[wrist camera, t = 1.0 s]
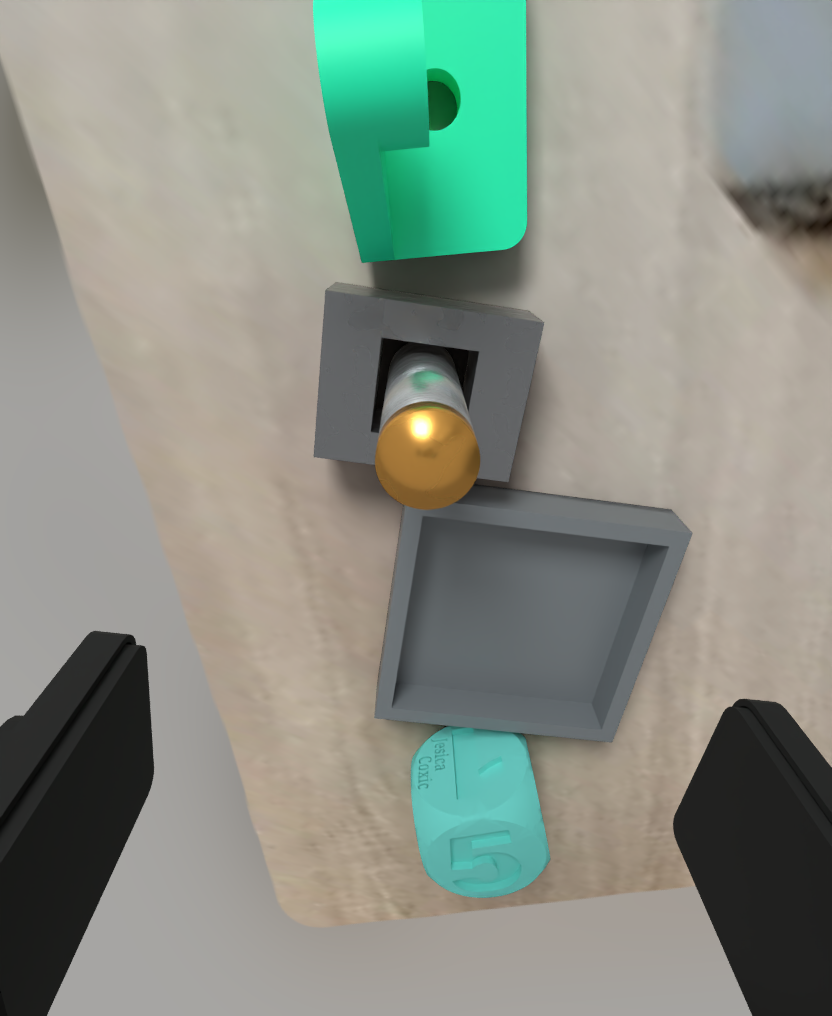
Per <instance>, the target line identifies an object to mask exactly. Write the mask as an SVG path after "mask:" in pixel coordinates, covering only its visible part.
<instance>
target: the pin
mask: <svg viewBox="0 0 832 1016" xmlns="http://www.w3.org/2000/svg"><path fill="white" fill-rule="evenodd" d="M375 468H376V473H377V476H378V479H379V481H380V483H381V485H382V486H383V488H384V489H385V490H386V492H387V493H388V494H389V495H390V496H391V497H393V498H394V499H395V500H397V501H398V502H400V503H401V504H404V505H406V506H408V507H412V508H416V509H422V510H432V509H439V508H443V507H446V506H448V505H451V504H453V503H455V502H456V501H458V500H459V499H461V498H462V497H463V496H464V495H465V494H466V493H467V492H468V491H469V490H470V489H471V487H472V486H473V484H474V483H475V481H476V478H477V476H478V473H479V469H480V451H479V447H478V444H477V440H476V437H475V433H474V430H473V426H472V423H471V420H470V416H469V413H468V409H467V406H466V402H465V399H464V396H463V392H462V389H461V385H460V382H459V378H458V375H457V372H456V368H455V365H454V361H453V359H452V357H451V355H450V354H449V353H448V351H447V350H446V349H445V348H444V347H442V346H437V345H430V344H423V343H416V342H409V343H407V344H405V345H404V346H402V347H401V348H400V349H399V350H398V351H397V352H396V354H395V355H394V357H393V359H392V361H391V364H390V368H389V374H388V380H387V386H386V392H385V398H384V405H383V411H382V417H381V423H380V429H379V435H378V441H377V448H376V454H375Z"/></svg>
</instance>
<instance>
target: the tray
mask: <svg viewBox="0 0 832 1016" xmlns="http://www.w3.org/2000/svg"><path fill="white" fill-rule="evenodd" d="M691 536H692V532H691V531H690V530H689V529H688V527H687V526H686V525H685V524H684V523H683V522H682V521H681V520H680V519H679V517H678V516H677V515H676V514H675V513H674V512H673V511H672V510H670V509H663V508H655V507H647V506H639V505H631V504H624V503H616V502H608V501H600V500H593V499H585V498H577V497H569V496H561V495H554V494H546V493H538V492H530V491H523V490H515V489H507V488H499V487H491V486H484V485H476V484H473V486H472V487H471V489H470V490H469V491H468V492H467V493H466V494H465V495H464V496H463V497H462V498H461V499H459V500H458V501H456V502H455V503H453V504H451V505H448V506H446V507H443V508H439V509H432V510H422V509H416V508H412V507H408V506H406V505H404V504H403V510H402V517H401V524H400V531H399V537H398V544H397V551H396V558H395V565H394V572H393V579H392V586H391V592H390V599H389V606H388V613H387V620H386V627H385V634H384V641H383V647H382V654H381V661H380V668H379V675H378V682H377V691H376V704H375V717H374V718H378V719H388V720H398V721H407V722H417V723H427V724H437V725H447V726H456V727H466V728H476V729H486V730H496V731H506V732H515V733H525V734H535V735H545V736H555V737H564V738H574V739H584V740H594V741H604V742H612V741H613V739H614V736H615V733H616V731H617V728H618V726H619V723H620V720H621V718H622V715H623V713H624V710H625V707H626V705H627V702H628V700H629V697H630V694H631V692H632V689H633V687H634V684H635V681H636V679H637V676H638V674H639V671H640V668H641V666H642V663H643V661H644V658H645V655H646V653H647V650H648V648H649V645H650V642H651V640H652V637H653V635H654V632H655V629H656V627H657V624H658V622H659V619H660V616H661V614H662V611H663V609H664V606H665V603H666V601H667V598H668V596H669V593H670V590H671V588H672V585H673V583H674V580H675V577H676V575H677V572H678V570H679V567H680V564H681V562H682V559H683V557H684V554H685V551H686V549H687V546H688V544H689V541H690V538H691Z"/></svg>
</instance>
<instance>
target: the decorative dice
mask: <svg viewBox="0 0 832 1016" xmlns="http://www.w3.org/2000/svg"><path fill="white" fill-rule="evenodd" d="M411 794H412V806H413V815H414V822H415V829H416V835H417V841H418V846H419V851H420V855H421V859H422V862H423V866H424V868H425V871H426V873H427V875H428V876H429V877H430V878H432V879H433V880H434V881H435V882H436V883H437V884H439V885H440V886H441V887H443V888H445V889H446V890H448V891H451V892H453V893H456V894H459V895H463V896H468V897H477V898H488V897H497V896H502V895H506V894H510V893H513V892H515V891H518V890H520V889H522V888H524V887H526V886H527V885H529V884H530V883H531V882H533V881H534V880H535V879H536V878H537V877H538V876H539V874H540V873H541V872H542V871H543V870H544V868H545V867H546V865H547V864H548V862H549V861H550V854H549V848H548V843H547V838H546V833H545V828H544V823H543V818H542V813H541V808H540V803H539V799H538V794H537V789H536V784H535V780H534V775H533V770H532V766H531V761H530V756H529V752H528V747H527V743H526V739H525V737H524V736H523V735H521V734H520V733H515V732H506V731H496V730H486V729H476V728H466V727H456V726H447V727H445V728H443V729H441V730H440V731H438V732H436V733H435V734H433V735H432V736H431V737H430V738H428V739H427V740H426V741H425V742H424V743H423V745H422V746H421V747H420V748H419V749H418V750H417V752H416V753H415V755H414V756H413V758H412V764H411Z"/></svg>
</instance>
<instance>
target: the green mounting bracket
mask: <svg viewBox="0 0 832 1016" xmlns="http://www.w3.org/2000/svg"><path fill="white" fill-rule="evenodd" d="M313 16H314V31H315V42H316V51H317V60H318V68H319V75H320V82H321V89H322V95H323V102H324V107H325V113H326V118H327V124H328V128H329V133H330V137H331V142H332V146H333V150H334V154H335V158H336V162H337V166H338V169H339V173H340V177H341V181H342V185H343V189H344V193H345V197H346V201H347V205H348V209H349V213H350V217H351V221H352V225H353V229H354V233H355V237H356V241H357V245H358V249H359V253H360V257H361V261H362V263H366V262H377V261H388V260H398V259H409V258H420V257H430V256H441V255H452V254H463V253H473V252H484V251H495V250H505V249H509V248H511V247H513V246H515V245H516V244H517V243H518V242H519V241H520V240H521V239H522V237H523V235H524V233H525V231H526V227H527V113H526V0H314V1H313ZM429 81H438V82H441V83H443V84H445V85H446V86H447V87H448V88H449V89H450V90H451V91H452V93H453V94H454V97H455V99H456V104H457V115H456V118H455V120H454V121H453V122H452V123H451V124H450V125H449V126H448V127H446V128H444V129H442V130H437V131H432V130H429V108H428V87H427V82H429Z"/></svg>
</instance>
